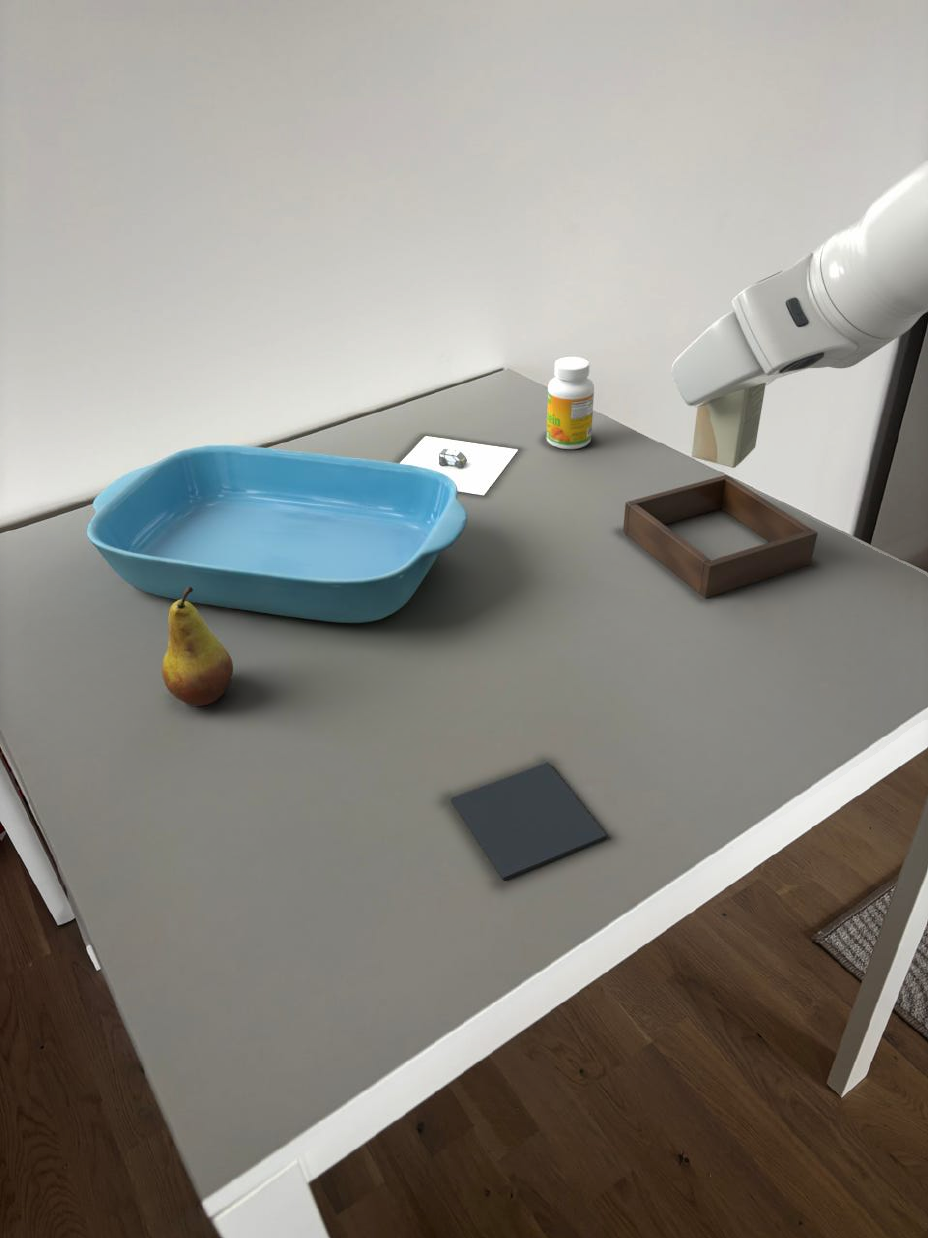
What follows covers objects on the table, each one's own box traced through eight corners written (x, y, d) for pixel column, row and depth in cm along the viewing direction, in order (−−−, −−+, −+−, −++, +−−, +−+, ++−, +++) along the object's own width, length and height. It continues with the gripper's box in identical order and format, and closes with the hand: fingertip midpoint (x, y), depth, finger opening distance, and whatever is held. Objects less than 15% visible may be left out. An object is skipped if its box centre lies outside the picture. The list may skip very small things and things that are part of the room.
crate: (811, 564, 94) (818, 532, 92) (705, 598, 89) (709, 566, 87) (721, 503, 104) (726, 474, 102) (622, 532, 99) (625, 501, 97)
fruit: (244, 672, 82) (220, 551, 75) (230, 717, 77) (203, 593, 70) (178, 673, 82) (148, 552, 75) (161, 718, 77) (127, 594, 70)
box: (713, 437, 91) (729, 320, 85) (757, 448, 89) (777, 329, 83) (689, 458, 88) (704, 337, 81) (734, 470, 86) (753, 347, 79)
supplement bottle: (538, 436, 118) (540, 358, 113) (577, 427, 120) (581, 351, 114) (559, 453, 114) (562, 374, 109) (599, 444, 116) (604, 366, 110)
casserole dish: (56, 600, 91) (35, 535, 87) (177, 491, 109) (164, 432, 105) (427, 663, 82) (423, 593, 78) (495, 532, 100) (495, 470, 96)
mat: (606, 838, 66) (606, 835, 66) (503, 880, 64) (503, 878, 63) (547, 764, 72) (548, 761, 72) (450, 801, 69) (450, 798, 69)
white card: (483, 495, 106) (483, 483, 105) (384, 479, 110) (383, 467, 109) (518, 449, 115) (518, 437, 114) (425, 436, 119) (424, 424, 118)
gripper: (908, 245, 78) (792, 332, 90) (726, 292, 69) (624, 382, 81) (943, 315, 77) (821, 393, 90) (764, 372, 68) (656, 450, 81)
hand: (726, 388), depth 85 cm, fingers closed on box, 6 cm apart
